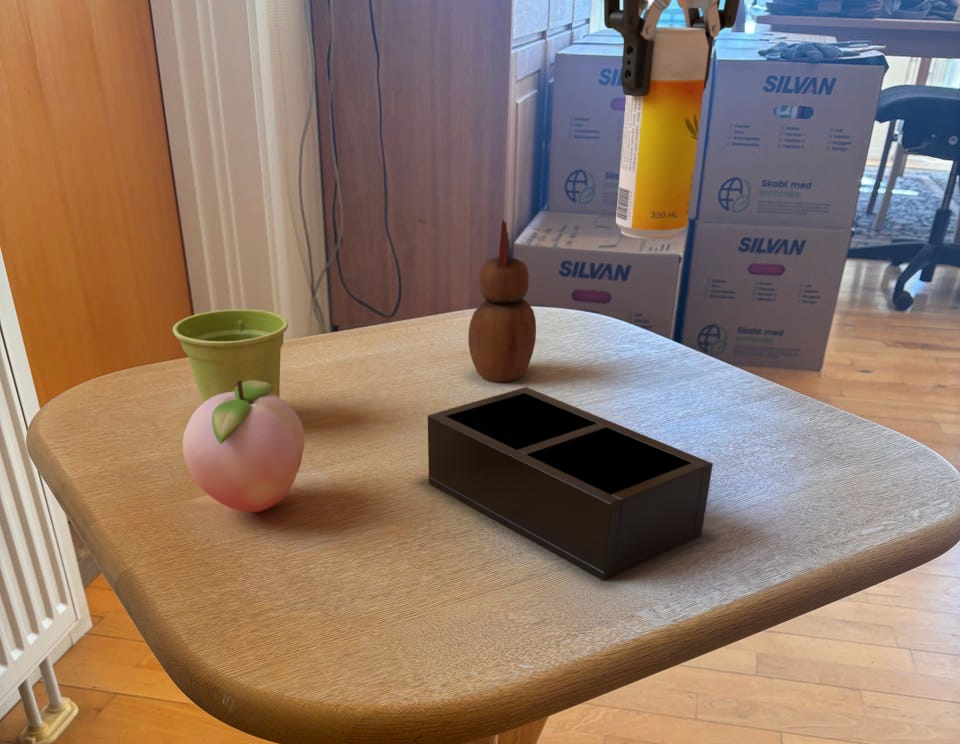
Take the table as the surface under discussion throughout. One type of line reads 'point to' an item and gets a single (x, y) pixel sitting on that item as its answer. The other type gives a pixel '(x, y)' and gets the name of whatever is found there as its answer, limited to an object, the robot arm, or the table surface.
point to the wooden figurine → (502, 318)
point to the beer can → (663, 138)
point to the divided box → (569, 479)
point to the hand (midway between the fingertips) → (664, 92)
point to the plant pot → (232, 348)
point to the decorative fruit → (244, 447)
